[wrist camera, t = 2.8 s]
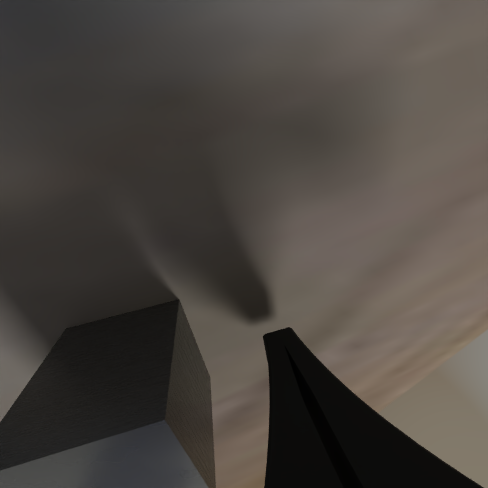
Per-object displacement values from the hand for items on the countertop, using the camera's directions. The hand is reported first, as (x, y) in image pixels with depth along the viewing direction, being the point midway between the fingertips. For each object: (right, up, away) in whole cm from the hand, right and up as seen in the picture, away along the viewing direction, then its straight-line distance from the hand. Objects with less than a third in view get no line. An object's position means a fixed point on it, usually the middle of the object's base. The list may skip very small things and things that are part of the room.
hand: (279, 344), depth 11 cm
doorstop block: (-7, -1, +1) cm, 7 cm away
